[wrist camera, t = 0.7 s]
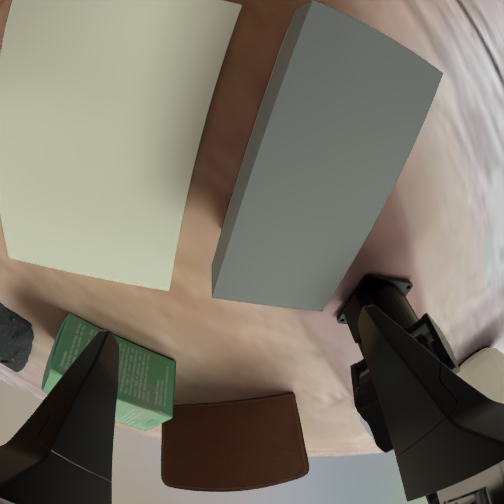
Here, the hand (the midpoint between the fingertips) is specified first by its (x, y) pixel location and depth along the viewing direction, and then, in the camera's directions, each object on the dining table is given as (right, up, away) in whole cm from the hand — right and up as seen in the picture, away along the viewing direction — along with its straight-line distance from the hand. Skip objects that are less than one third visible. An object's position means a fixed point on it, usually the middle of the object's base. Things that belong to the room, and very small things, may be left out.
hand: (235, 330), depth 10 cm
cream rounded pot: (+47, -20, +37) cm, 63 cm away
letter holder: (-3, -22, +33) cm, 40 cm away
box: (-15, -8, +20) cm, 27 cm away
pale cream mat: (-11, +10, +7) cm, 16 cm away
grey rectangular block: (+4, +7, +6) cm, 10 cm away
